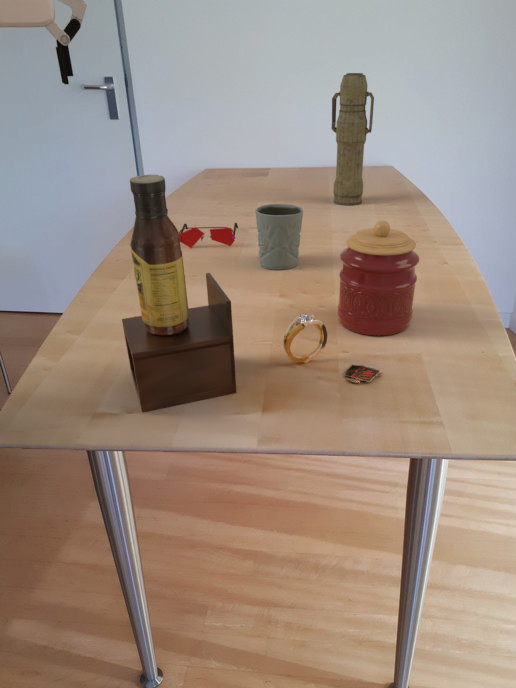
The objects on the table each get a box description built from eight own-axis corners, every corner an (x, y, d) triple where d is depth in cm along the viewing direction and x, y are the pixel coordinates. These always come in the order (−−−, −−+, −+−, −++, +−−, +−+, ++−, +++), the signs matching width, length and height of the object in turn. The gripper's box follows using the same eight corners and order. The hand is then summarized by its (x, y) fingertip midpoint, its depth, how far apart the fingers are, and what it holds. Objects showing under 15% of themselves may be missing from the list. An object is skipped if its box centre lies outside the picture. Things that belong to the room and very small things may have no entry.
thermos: (329, 197, 174) (334, 72, 156) (367, 199, 172) (376, 72, 154) (326, 204, 166) (331, 74, 148) (365, 206, 165) (375, 74, 147)
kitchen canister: (427, 326, 94) (441, 224, 85) (367, 344, 89) (375, 237, 80) (379, 300, 104) (388, 206, 95) (322, 315, 99) (326, 217, 90)
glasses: (178, 249, 131) (175, 228, 129) (186, 229, 146) (184, 210, 143) (236, 248, 132) (235, 227, 129) (238, 228, 146) (237, 209, 143)
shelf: (142, 412, 73) (125, 317, 66) (131, 373, 82) (115, 285, 75) (236, 392, 77) (231, 301, 70) (216, 357, 86) (209, 272, 79)
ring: (288, 371, 82) (288, 323, 78) (280, 361, 84) (280, 314, 80) (330, 362, 84) (332, 315, 80) (321, 353, 87) (322, 306, 82)
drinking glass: (247, 263, 122) (245, 209, 116) (279, 252, 128) (279, 200, 122) (280, 274, 116) (279, 218, 110) (311, 262, 122) (312, 208, 116)
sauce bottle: (150, 317, 77) (128, 171, 67) (193, 318, 77) (179, 171, 67) (138, 339, 72) (112, 182, 61) (185, 339, 72) (167, 182, 61)
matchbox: (349, 365, 83) (349, 362, 83) (383, 370, 81) (383, 368, 81) (342, 381, 79) (342, 378, 79) (377, 386, 78) (377, 384, 77)
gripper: (68, -89, 62) (95, 81, 71) (-105, -100, 57) (-53, 85, 66) (71, -104, 56) (100, 84, 65) (-123, -117, 51) (-63, 89, 60)
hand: (23, 84), depth 65 cm, fingers open, 9 cm apart
